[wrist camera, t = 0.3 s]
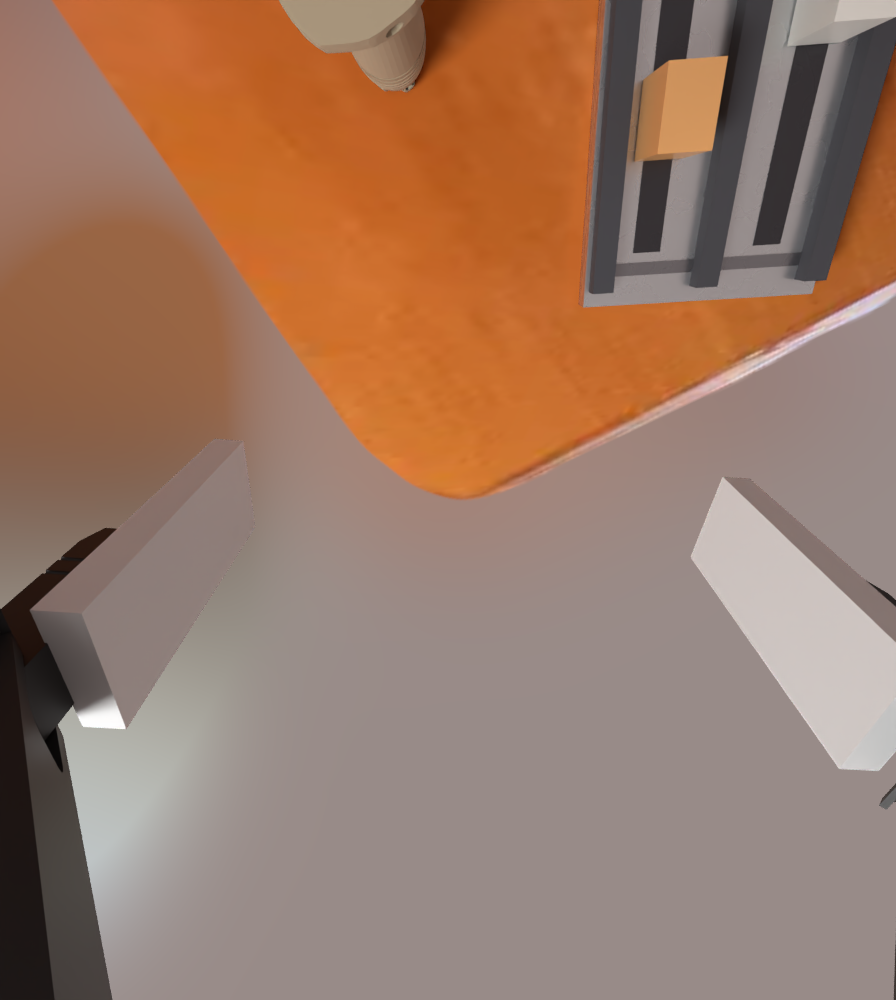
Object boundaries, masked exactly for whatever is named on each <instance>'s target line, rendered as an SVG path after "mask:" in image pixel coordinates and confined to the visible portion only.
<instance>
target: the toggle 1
mask: <svg viewBox="0 0 896 1000" xmlns="http://www.w3.org/2000/svg"><path fill="white" fill-rule="evenodd" d="M727 60H728V56H719V57H706V58H693V59H680V60H669V61H668V62H666V63H665V64H664V65H662V66H661V67H659V68H658V69H657V70H655V71H654V72H653V73H651V74H650V75H649V76H647V77H646V78H645V79H643V85H642V95H641V104H640V114H639V123H638V132H637V142H636V151H635V161H634V162H637V161H651V160H666V159H680V158H686V157H690V156H693V155H697V154H701V153H704V152H708V151H712V148H713V143H714V137H715V131H716V125H717V119H718V113H719V107H720V101H721V95H722V89H723V83H724V77H725V72H726V66H727Z"/></svg>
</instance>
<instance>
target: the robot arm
mask: <svg viewBox="0 0 896 1000" xmlns="http://www.w3.org/2000/svg"><path fill="white" fill-rule="evenodd" d="M254 528H255V522H254V515H253V508H252V500H251V493H250V487H249V479H248V472H247V465H246V457H245V450H244V443H243V441H236V440H223V439H214V440H213V441H212V442H210V443H209V444H208V445H207V446H206V447H205V448H204V449H203V450H202V451H201V452H200V453H199V454H198V455H196V456H195V457H194V458H193V459H192V460H191V461H190V462H189V463H188V464H187V465H186V466H185V467H184V468H182V469H181V471H179V472H178V473H177V474H176V475H175V476H174V477H173V478H172V479H171V480H170V481H168V482H167V483H166V484H165V485H164V486H163V487H162V488H161V489H160V490H159V491H158V492H157V493H155V494H154V495H153V496H152V497H151V498H150V499H149V500H148V501H147V502H146V503H145V504H144V505H143V506H142V507H140V508H139V509H138V510H137V511H136V512H135V513H134V514H133V515H132V516H131V517H130V518H129V519H127V520H126V521H125V522H124V523H123V524H122V525H121V526H120V527H119V528H118V529H113V528H104V529H102V530H101V531H98V532H96V533H94V534H92V535H91V536H88V537H87V538H85V539H83V540H81V541H79V542H78V543H77V544H76V545H74V546H73V547H72V548H71V549H70V550H69V551H68V552H66V553H65V554H64V555H63V556H62V558H61V560H57V561H56V562H55V563H54V564H53V565H51V566H50V567H49V568H48V569H47V570H46V573H45V574H41V575H40V576H39V577H38V578H36V579H35V580H34V581H33V582H32V583H31V584H30V585H28V586H27V587H26V588H25V589H24V590H23V591H21V592H20V593H19V594H18V595H17V596H16V597H14V598H13V599H12V600H11V601H10V602H9V603H8V604H6V605H5V606H4V607H3V608H2V609H0V1000H112V995H111V990H110V985H109V979H108V974H107V968H106V963H105V958H104V953H103V947H102V942H101V936H100V931H99V926H98V920H97V915H96V910H95V904H94V899H93V894H92V888H91V883H90V878H89V872H88V867H87V862H86V856H85V851H84V846H83V840H82V835H81V829H80V824H79V819H78V814H77V808H76V803H75V797H74V792H73V787H72V781H71V776H70V771H69V766H68V760H67V755H66V749H65V744H64V739H63V735H62V733H61V731H60V729H59V727H58V723H59V722H60V721H61V720H62V718H63V717H64V716H65V714H66V713H67V712H68V711H69V709H70V708H71V707H72V705H73V707H74V709H75V711H76V713H77V715H78V717H79V720H80V722H81V724H82V726H83V727H98V728H115V729H127V727H128V726H129V724H130V723H131V721H132V719H133V718H134V716H135V715H136V713H137V711H138V710H139V708H140V707H141V705H142V704H143V702H144V701H145V699H146V698H147V696H148V694H149V693H150V691H151V690H152V688H153V686H154V685H155V683H156V682H157V680H158V679H159V677H160V675H161V674H162V672H163V671H164V669H165V668H166V666H167V665H168V663H169V661H170V660H171V658H172V657H173V655H174V654H175V652H176V650H177V649H178V647H179V646H180V644H181V643H182V641H183V639H184V638H185V636H186V635H187V633H188V632H189V630H190V628H191V627H192V625H193V624H194V622H195V621H196V619H197V618H198V616H199V614H200V613H201V611H202V610H203V608H204V607H205V605H206V603H207V602H208V600H209V599H210V597H211V596H212V594H213V593H214V591H215V589H216V588H217V586H218V584H219V583H220V581H221V580H222V578H223V577H224V575H225V573H226V572H227V571H228V569H229V567H230V566H231V564H232V563H233V561H234V560H235V558H236V556H237V555H238V553H239V552H240V550H241V548H242V547H243V546H244V544H245V542H246V541H247V539H248V538H249V536H250V534H251V533H252V531H253V530H254ZM691 559H692V560H693V561H694V563H695V564H696V566H697V567H698V568H699V570H700V571H701V573H702V574H703V576H704V577H705V578H706V580H707V581H708V583H709V584H710V586H711V587H712V588H713V590H714V591H715V593H716V594H717V595H718V597H719V598H720V600H721V601H722V602H723V604H724V606H725V607H726V608H727V610H728V611H729V613H730V614H731V615H732V617H733V618H734V620H735V621H736V623H737V624H738V625H739V627H740V628H741V630H742V631H743V633H744V634H745V635H746V637H747V638H748V640H749V641H750V643H751V644H752V645H753V647H754V648H755V650H756V651H757V653H758V654H759V655H760V657H761V658H762V660H763V661H764V662H765V664H766V665H767V667H768V668H769V670H770V671H771V672H772V674H773V675H774V677H775V678H776V680H777V681H778V682H779V684H780V685H781V687H782V688H783V690H784V691H785V692H786V694H787V695H788V697H789V698H790V699H791V701H792V702H793V704H794V705H795V707H796V708H797V709H798V711H799V712H800V714H801V715H802V717H803V718H804V719H805V721H806V722H807V724H808V725H809V727H810V728H811V729H812V731H813V732H814V734H815V735H816V736H817V738H818V739H819V741H820V742H821V744H822V745H823V746H824V748H825V749H826V751H827V752H828V754H829V755H830V756H831V758H832V759H833V761H834V762H835V764H836V765H837V766H838V768H839V769H852V770H870V771H879V770H880V769H881V768H882V767H883V765H884V764H885V763H886V762H887V761H888V759H890V757H891V756H892V755H893V754H894V753H895V751H896V600H895V599H894V598H893V597H892V596H890V595H889V594H888V593H886V592H885V591H883V590H881V589H880V588H878V587H876V586H874V585H873V584H871V583H869V582H868V581H866V580H865V579H864V578H862V577H861V576H860V575H859V574H858V573H857V572H856V571H854V570H853V569H852V568H851V567H850V566H849V565H848V564H846V563H845V562H844V561H843V560H842V559H841V558H839V557H838V556H837V555H836V554H835V553H834V552H833V551H831V550H830V549H829V548H828V547H827V546H826V545H825V544H823V543H822V542H821V541H820V540H819V539H818V538H817V537H816V536H814V535H813V534H812V533H811V532H810V531H808V530H807V529H806V528H805V527H804V526H803V525H802V524H801V523H800V522H798V521H797V520H796V519H795V518H794V517H793V516H792V515H791V514H789V513H788V512H787V511H786V510H785V509H784V508H783V507H781V506H780V505H779V504H778V503H777V502H776V501H775V500H773V499H772V498H771V497H770V496H769V495H768V494H767V493H765V492H764V491H763V490H762V489H761V488H760V487H759V486H757V485H756V484H755V483H754V482H753V481H751V479H746V478H733V477H732V478H731V477H722V480H721V482H720V485H719V487H718V490H717V492H716V495H715V497H714V500H713V502H712V505H711V507H710V510H709V512H708V515H707V517H706V520H705V522H704V525H703V527H702V530H701V532H700V535H699V538H698V540H697V542H696V545H695V547H694V550H693V553H692V555H691ZM893 802H896V784H895V785H894V786H893V787H892V788H891V789H890V791H889V792H888V793H887V794H886V795H885V796H884V797H883V798H882V801H881V803H880V805H879V806H881V807H883V808H885V809H888V807H889V806H890V805H891V804H892V803H893ZM894 1000H896V949H895V979H894Z"/></svg>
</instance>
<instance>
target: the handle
mask: <svg viewBox="0 0 896 1000" xmlns="http://www.w3.org/2000/svg"><path fill="white" fill-rule="evenodd" d="M279 1H280V3H281V5H282V6H283V8H284V10H285V11H286V13H287V15H288V16H289V18H290V19H291V21H292V22H293V23H294V24H295V25H296V27H297V28H298V29H299V30H300V32H301V33H302V34H303V35H304V36H305V38H306V39H307V40H309V41H310V42H311V43H312V44H313V45H315V46H316V47H317V48H319V49H320V50H322V51H324V52H325V53H343V52H352V54H353V56H354V58H355V60H356V61H357V63H358V65H359V66H360V68H361V69H362V71H363V72H364V73H365V74H366V76H367V77H368V78H370V79H371V80H372V81H373V82H374V83H375V84H377V85H378V86H379V87H380V88H381V89H382V90H384V91H388V90H390V91H399V90H403V91H404V92H408V91H410V90H411V89H412V88H413V87H414V86H415V80H416V78H417V77H418V75H419V73H420V71H421V68H422V65H423V62H424V57H425V50H426V31H425V23H424V17H423V13H422V9H421V5H422V3H423V2H424V0H279Z"/></svg>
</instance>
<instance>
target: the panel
mask: <svg viewBox="0 0 896 1000" xmlns="http://www.w3.org/2000/svg"><path fill="white" fill-rule="evenodd" d="M796 2H797V0H773V5H772V10H771V15H770V20H769V25H768V30H767V36H766V41H765V46H764V51H763V56H762V61H761V66H760V71H759V77H758V82H757V87H756V92H755V97H754V102H753V107H752V112H751V118H750V123H749V128H748V133H747V138H746V143H745V148H744V153H743V159H742V164H741V169H740V174H739V179H738V184H737V189H736V194H735V200H734V205H733V210H732V215H731V220H730V225H729V230H728V235H727V241H726V246H725V251H724V256H723V261H722V266H721V271H720V276H719V282H718V287H705V288H695V287H691V286H689V284H690V278H691V272H692V269H693V263H694V255H695V249H696V243H697V237H698V231H699V225H700V219H701V213H702V207H703V201H704V195H705V190H706V184H707V178H708V172H709V166H710V160H711V154H712V151H708V152H704V153H701V154H697V155H693V156H690V157H686V158H680V159H666V160H651V161H637V162H634V161H635V151H636V142H637V132H638V123H639V114H640V104H641V95H642V85H643V79H645V78H646V77H647V76H649V75H650V74H651V73H653V72H654V71H655V70H657V69H658V68H659V67H661V66H662V65H664V64H665V63H666V62H668V61H669V60H680V59H693V58H706V57H719V56H728V53H729V47H730V41H731V36H732V30H733V24H734V18H735V12H736V6H737V0H643V2H642V12H641V22H640V32H639V42H638V52H637V62H636V72H635V82H634V92H633V102H632V112H631V122H630V132H629V142H628V152H627V162H626V172H625V182H624V192H623V202H622V213H621V223H620V233H619V243H618V253H617V263H616V273H615V283H614V293H606V294H591V293H589V281H590V268H591V255H592V242H593V229H594V216H595V203H596V190H597V177H598V164H599V150H600V137H601V124H602V111H603V98H604V85H605V72H606V59H607V46H608V33H609V20H610V7H611V0H599V12H598V27H597V42H596V57H595V71H594V86H593V101H592V115H591V130H590V145H589V159H588V174H587V189H586V203H585V218H584V233H583V247H582V262H581V277H580V292H579V305H580V306H582V307H597V306H614V305H631V304H648V303H664V302H681V301H698V300H715V299H731V298H748V297H765V296H782V295H798V294H812V291H813V288H814V284H815V281H800V280H794V278H795V275H796V271H797V267H798V265H799V262H800V258H801V254H802V248H803V244H804V240H805V237H806V233H807V229H808V225H809V222H810V218H811V214H812V210H813V206H814V203H815V199H816V195H817V191H818V187H819V184H820V180H821V176H822V172H823V168H824V165H825V161H826V157H827V153H828V150H829V146H830V142H831V138H832V134H833V131H834V127H835V123H836V119H837V115H838V112H839V108H840V104H841V100H842V97H843V93H844V89H845V85H846V81H847V78H848V74H849V70H850V66H851V62H852V59H853V55H854V51H855V47H856V43H857V40H858V36H859V34H858V35H855V36H853V37H851V38H849V39H847V40H845V41H842V42H838V43H825V44H812V45H799V46H787V44H788V39H789V35H790V30H791V25H792V21H793V16H794V11H795V6H796Z"/></svg>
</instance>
